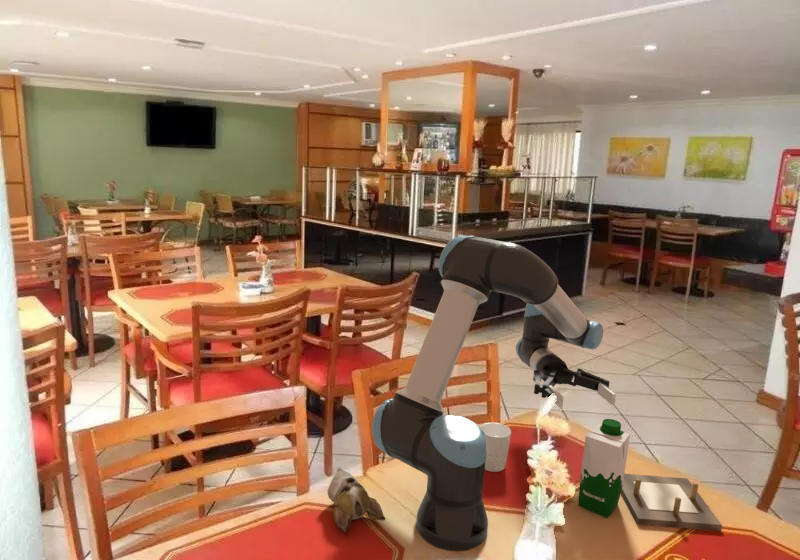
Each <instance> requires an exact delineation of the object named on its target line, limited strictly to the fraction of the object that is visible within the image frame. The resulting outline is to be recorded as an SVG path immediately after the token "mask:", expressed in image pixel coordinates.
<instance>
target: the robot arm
mask: <svg viewBox="0 0 800 560" xmlns="http://www.w3.org/2000/svg"><path fill="white" fill-rule="evenodd" d="M438 263H439V266H438V272H439V275H440V277H441V278H442V279H441V281H440V285H441V286H442V289H443V293H442V296H441V298H440V301H439V303H438V306H437V308H436V311H435V313H434V315H433V318H432V321H431V323H430V325H429V327H428V330H427V332H426V335H425V338H424V340H423V342H422V346H421V348H420V349H419V352H418V355H417V357H416V360H415V362H414V365H413V367H412V370H411V372H410V374H409V377H408V379H407V382H406V384H405V386H404V387H403V388H400V389H397V390H396V391H395V394H394V396H393V398H389V399H386V400H384V401H383V402H382V404H380V405H379V406H378V408H377V409H376V411H375V413H374V415H373V419H372V426H371V434H372V435H371V436H372V437H373V442H374V444H375V446H376V447H377V448H378V449H379V450H380V451H382V452H384V453H386V455H387V456H388V457H390V458H393V459H397V460H398V461H400V462H402V463H404V464H406V465H407V466H410V467H411V468H413V469H415V470H417V471H419V472H421V473H423V474H425V475H426V476H427V481H426V484H427V485H426V492H425V493H424V497H423V498H422V501H421V502H420V505H419V508H418V510H417V514H416V522H415V523H416V529H417V532H418V534H419V535H420V536H421V537H422V538H423V540H425V541H426V542H428V543H429V544H431V545H432V546H435V547H437V548H440V549H444V550H448V551H466V550H471V549H473V548H476V547H478V546H479V545H481V544H482V543H483V542H484V541H485V540H486V538H487V534H488V529H489V528H488V527H489V519H488V516H487V512H486V508H485V504H484V501H483V489H484V481H485V480H484V479H485V471H486V470H485V461H486V457H487V450H486V437H485V434H484V432H483V430H482V429H481V428H480V425H479V424H477V423H476V422H474V421H473V420H471V419H469V418H467V417H464V416H461V415H457V416H455V415H454V414H444V412H445V411H444V408H443V406H442V404H441V403H442V402H441V401H442V399H443V396H444V394H445V391H446V389H447V386H448V383H449V381H450V379H451V376H452V374H453V371H454V369H455V366H456V363H457V361H458V358H459V356H460V353H461V351H462V348H463V345H464V342H465V341H466V338H467V335H468V333H469V330H470V328H471V325H472V322H473V320H474V317H475V316H476V312H477V310H478V308H479V305H481V304H483V303H486V302H488V300H489V297H490V294H491V292H494V293H501V294H503V295H509V296H512V297H516V298H519V299H520V300H522V301H523V302H524V303H526V305H525V310H524V314H523V329H522V331H523V332H522V337H520V339H519V340H518V341H517V342H516V344H515V352H516V355H517V356H518V358H519V359H520V361H521V362H522V363H524V364H525V365H526V366H527V367H529V368H530V369H531V370H532V371H533V374H532V375H533V376H532V380H533V381H534V389H533V394H535V395H539V394H540V393H541V398H543V399H545V398H548V397H549V396H550V395H551V394H552V393H555V395H556V396H557V401H556V402H555V403H554V404H555V405H556V406H558V408H560V409H561V408H563V405H564V404H563V403H564V396H563V394H561V393H560V392H559V391H558V390H557V389H556V388H555V386H556V385H569V386H572V387H576V386H579V387H582V388H585V389H589V390H593V391H595V392H597V394H598V395H599V396H601V397H602V398H603V399H604V400H605V401H607V402H608V403H609V404H610V405H611V406H613V405H614V406H615V402H616V393H615V392H614V391H612V389H611V388H610V380H608V379H605V378H602V377H600V376H597V375H595V374H592V373H589V372H588V371H585V370H583V369H582V368H577V369H576V371H573V370H571V369H569V367H568V365H567V364H566V362H565V361H564V360H563V359H562V358H560V357H559V356H558V355H557V354H556V353H554V352H553V351H552V350H551V349H550V348H549V342H550V339H552V340H556V341H559V342H563V343H567V344H569V345H573V346H576V347H581V348H582V349H588V350H596V349H598V348H599V346H600V345H601V342H602V341H603V337H604V327H603V325H602V323H600V322H597V321H594V320H591V319H587V318H586V317H585V315H584V314H583V312H582V311H581V310H580V309H579V308H578V306H577V305H576V304H575V303H574V302H573V301H572V300H571V298H570V297H569V296H568V294H567V293H566V292H565V291H564V289H562V287H561V286H560V285H559V278H558V277H557V275H556V273H555V272H554V270H553V269H552V268H551V267H550V266H549V265H548V264H547V263H546V262H545V261H544V260H543V259H541V258H540V257H539V256H538V255H537V254H535V253H534V252H532V251H531V250H529V249H527V248H526V247H525V246H522V245H520V244H517V243H514V242H510V241H502V240H496V239H491V238H485V237H479V236H478V235H463V234H462V235H458V236H456V237H454V238H452V239H451V240H449V241H448V242H447V244H446V245H445V246H444V247H443V249H442V251H441V254H440V256H439V261H438ZM542 381H543V382H544V383H542V385H541V382H542ZM548 399H549V398H548Z"/></svg>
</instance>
